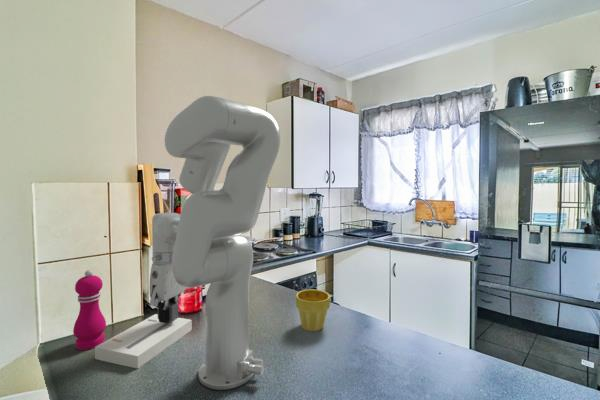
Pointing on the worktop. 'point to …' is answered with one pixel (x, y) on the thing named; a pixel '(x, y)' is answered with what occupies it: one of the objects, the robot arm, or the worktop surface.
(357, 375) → the worktop surface
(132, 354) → the slotted white slab
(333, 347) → the worktop surface
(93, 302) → the pepper mill
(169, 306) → the fader cap
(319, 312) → the plant pot
